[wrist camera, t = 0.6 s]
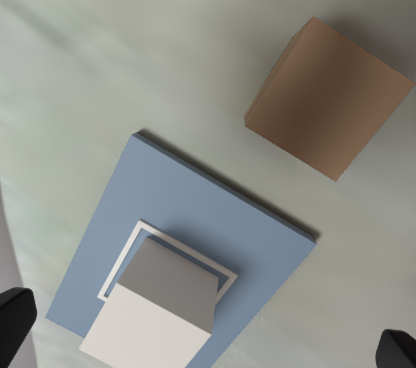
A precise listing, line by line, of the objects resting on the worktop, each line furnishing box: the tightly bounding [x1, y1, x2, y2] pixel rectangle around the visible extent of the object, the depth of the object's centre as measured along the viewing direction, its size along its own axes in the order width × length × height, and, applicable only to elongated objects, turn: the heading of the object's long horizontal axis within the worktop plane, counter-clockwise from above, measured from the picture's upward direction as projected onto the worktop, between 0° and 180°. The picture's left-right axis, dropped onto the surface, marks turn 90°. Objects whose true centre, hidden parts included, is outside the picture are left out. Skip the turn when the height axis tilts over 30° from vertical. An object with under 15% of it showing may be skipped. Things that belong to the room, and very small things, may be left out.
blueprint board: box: [45, 133, 317, 368], centre depth 21 cm, size 14×18×1 cm
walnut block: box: [244, 16, 416, 181], centre depth 14 cm, size 5×5×5 cm
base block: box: [79, 237, 219, 368], centre depth 19 cm, size 6×6×5 cm
